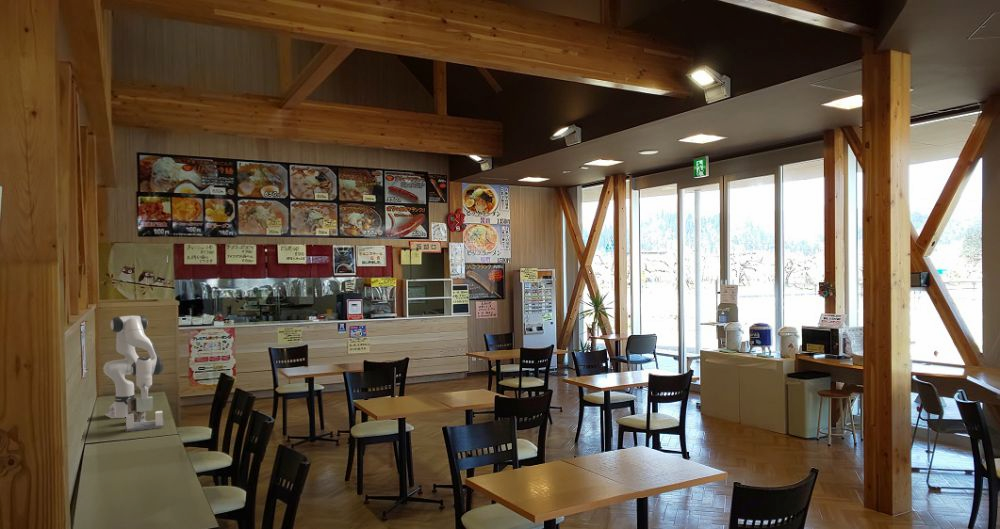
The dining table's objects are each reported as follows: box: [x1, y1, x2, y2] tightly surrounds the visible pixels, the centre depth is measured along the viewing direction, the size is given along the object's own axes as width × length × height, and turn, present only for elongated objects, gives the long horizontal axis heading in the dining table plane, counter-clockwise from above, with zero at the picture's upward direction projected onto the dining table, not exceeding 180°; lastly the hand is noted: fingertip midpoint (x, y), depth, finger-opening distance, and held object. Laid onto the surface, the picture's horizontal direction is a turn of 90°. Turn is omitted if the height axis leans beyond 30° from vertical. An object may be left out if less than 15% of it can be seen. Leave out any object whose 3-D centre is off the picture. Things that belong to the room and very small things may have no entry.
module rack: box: [125, 410, 165, 433], centre depth 422 cm, size 9×21×10 cm, turn 118°
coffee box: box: [127, 396, 147, 423], centre depth 439 cm, size 9×6×16 cm
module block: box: [136, 396, 154, 412], centre depth 422 cm, size 4×9×8 cm, turn 118°
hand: (144, 404), depth 422 cm, fingers closed on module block, 4 cm apart
